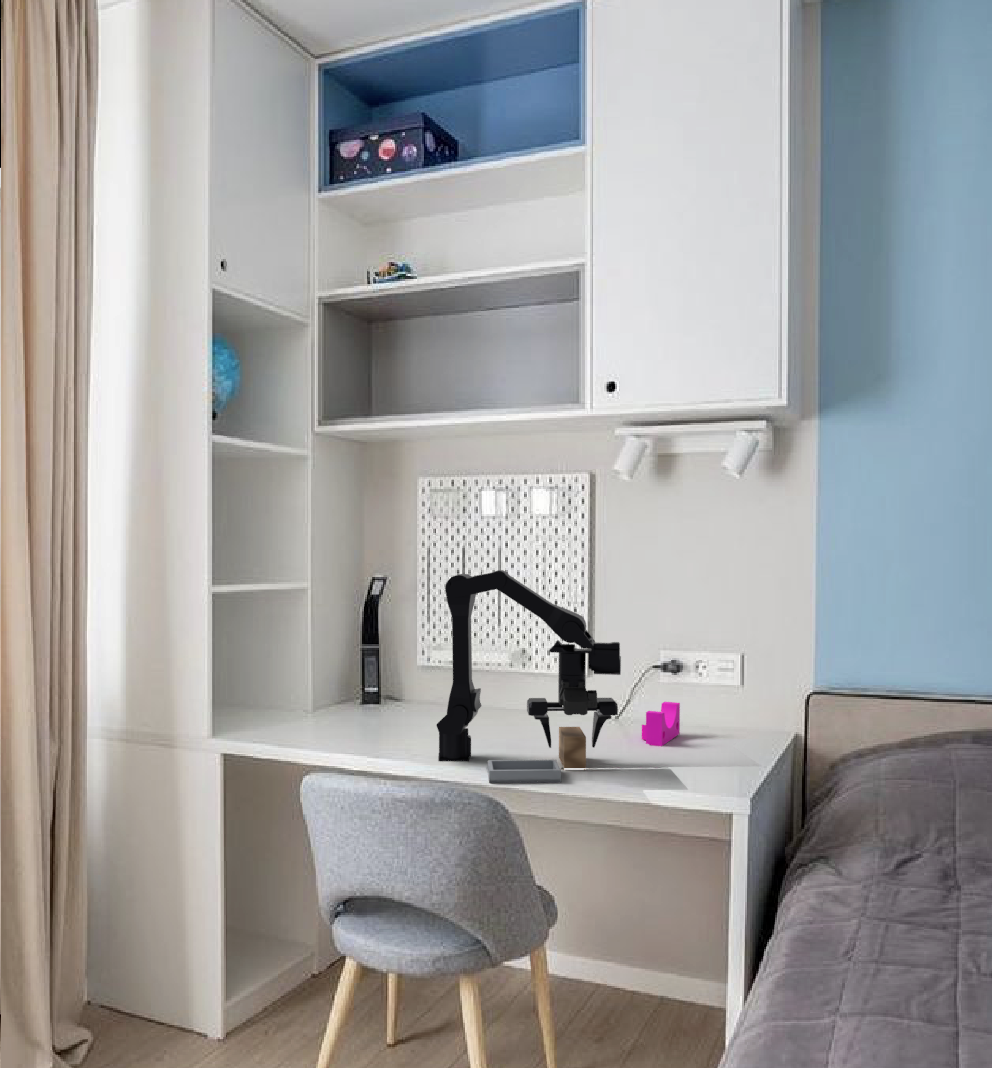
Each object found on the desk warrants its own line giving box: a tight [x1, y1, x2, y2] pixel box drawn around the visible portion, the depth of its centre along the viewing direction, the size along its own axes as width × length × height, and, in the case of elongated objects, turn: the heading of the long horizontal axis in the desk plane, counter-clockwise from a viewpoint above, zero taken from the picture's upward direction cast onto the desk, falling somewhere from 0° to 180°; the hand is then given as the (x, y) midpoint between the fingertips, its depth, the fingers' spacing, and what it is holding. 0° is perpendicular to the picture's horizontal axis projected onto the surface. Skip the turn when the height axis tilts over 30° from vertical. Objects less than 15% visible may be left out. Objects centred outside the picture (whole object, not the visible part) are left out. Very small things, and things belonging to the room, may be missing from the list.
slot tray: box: [487, 759, 562, 784], centre depth 197 cm, size 14×9×2 cm, turn 93°
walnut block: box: [558, 726, 587, 769], centre depth 207 cm, size 4×10×7 cm, turn 3°
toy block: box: [641, 701, 681, 747], centre depth 233 cm, size 15×6×8 cm, turn 154°
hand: (571, 747), depth 207 cm, fingers open, 9 cm apart
